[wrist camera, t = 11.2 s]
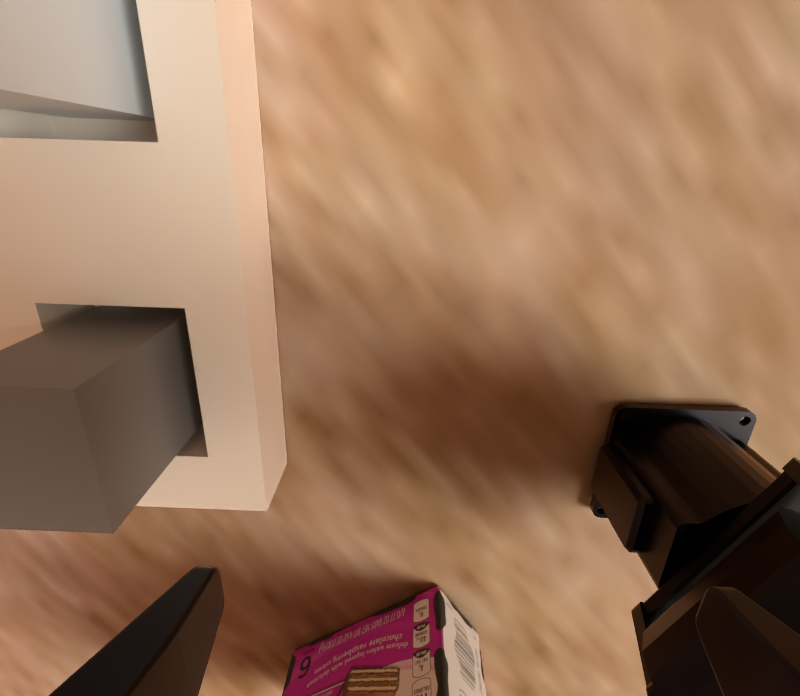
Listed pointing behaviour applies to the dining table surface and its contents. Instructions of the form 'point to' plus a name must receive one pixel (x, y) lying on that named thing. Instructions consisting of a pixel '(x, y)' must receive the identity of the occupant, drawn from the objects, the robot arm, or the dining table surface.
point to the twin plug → (93, 416)
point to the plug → (74, 59)
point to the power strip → (163, 238)
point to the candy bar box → (394, 655)
